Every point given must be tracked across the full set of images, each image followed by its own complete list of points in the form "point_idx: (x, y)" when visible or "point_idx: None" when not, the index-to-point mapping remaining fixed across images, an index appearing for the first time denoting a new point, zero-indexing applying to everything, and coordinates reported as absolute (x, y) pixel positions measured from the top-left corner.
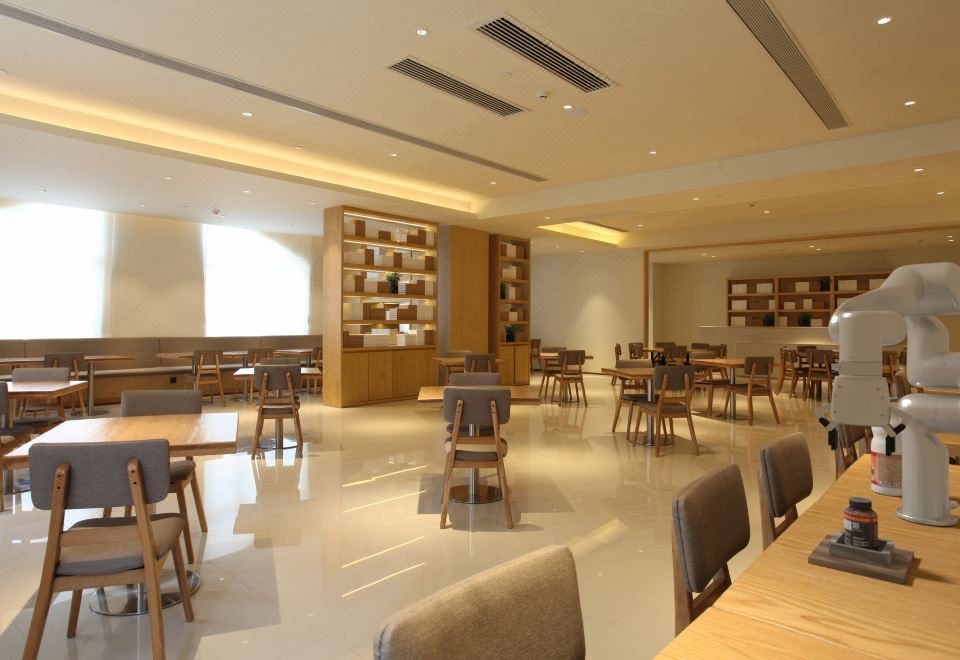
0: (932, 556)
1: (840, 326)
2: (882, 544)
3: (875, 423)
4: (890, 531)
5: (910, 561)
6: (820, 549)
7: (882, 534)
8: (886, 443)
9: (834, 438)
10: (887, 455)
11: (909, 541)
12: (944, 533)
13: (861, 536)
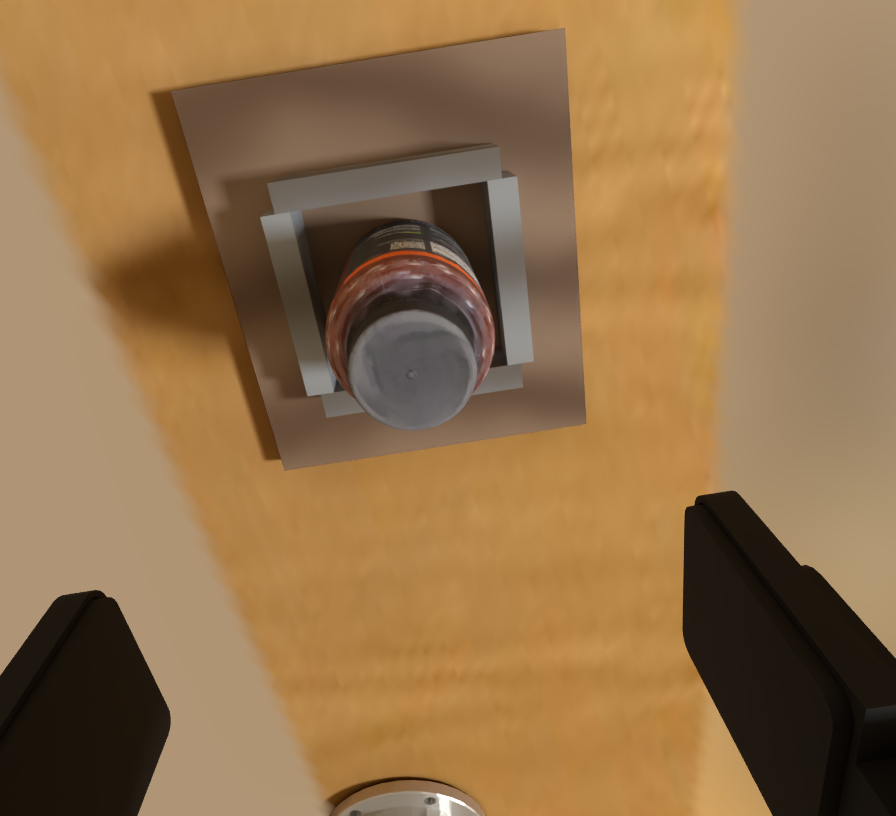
0: (252, 514)
1: None
2: None
3: None
4: (441, 657)
5: (251, 354)
6: (551, 194)
7: (450, 612)
8: (7, 737)
9: (775, 614)
10: (83, 593)
11: (362, 606)
12: (318, 746)
13: (382, 238)
